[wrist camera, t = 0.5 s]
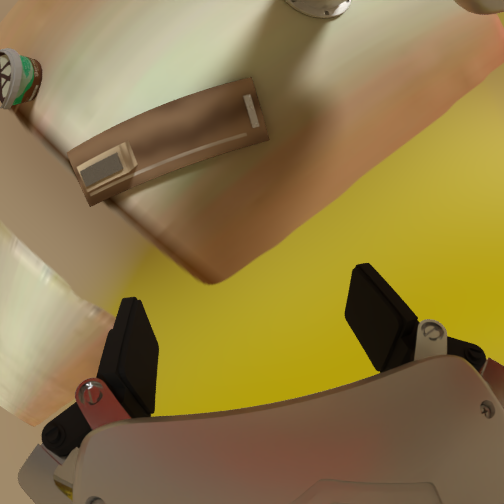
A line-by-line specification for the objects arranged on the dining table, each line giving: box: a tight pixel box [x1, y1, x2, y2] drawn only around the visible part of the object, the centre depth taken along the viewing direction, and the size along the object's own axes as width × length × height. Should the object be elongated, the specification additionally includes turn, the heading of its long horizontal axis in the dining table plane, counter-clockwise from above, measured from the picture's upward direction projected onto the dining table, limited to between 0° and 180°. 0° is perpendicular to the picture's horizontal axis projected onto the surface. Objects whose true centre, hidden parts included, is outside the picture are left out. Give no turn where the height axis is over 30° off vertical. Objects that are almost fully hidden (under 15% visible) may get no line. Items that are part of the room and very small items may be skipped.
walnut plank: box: [67, 77, 269, 207], centre depth 36 cm, size 10×30×3 cm, turn 105°
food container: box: [0, 48, 42, 109], centre depth 21 cm, size 12×6×10 cm, turn 34°
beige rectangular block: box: [77, 141, 138, 192], centre depth 33 cm, size 4×7×6 cm, turn 105°
